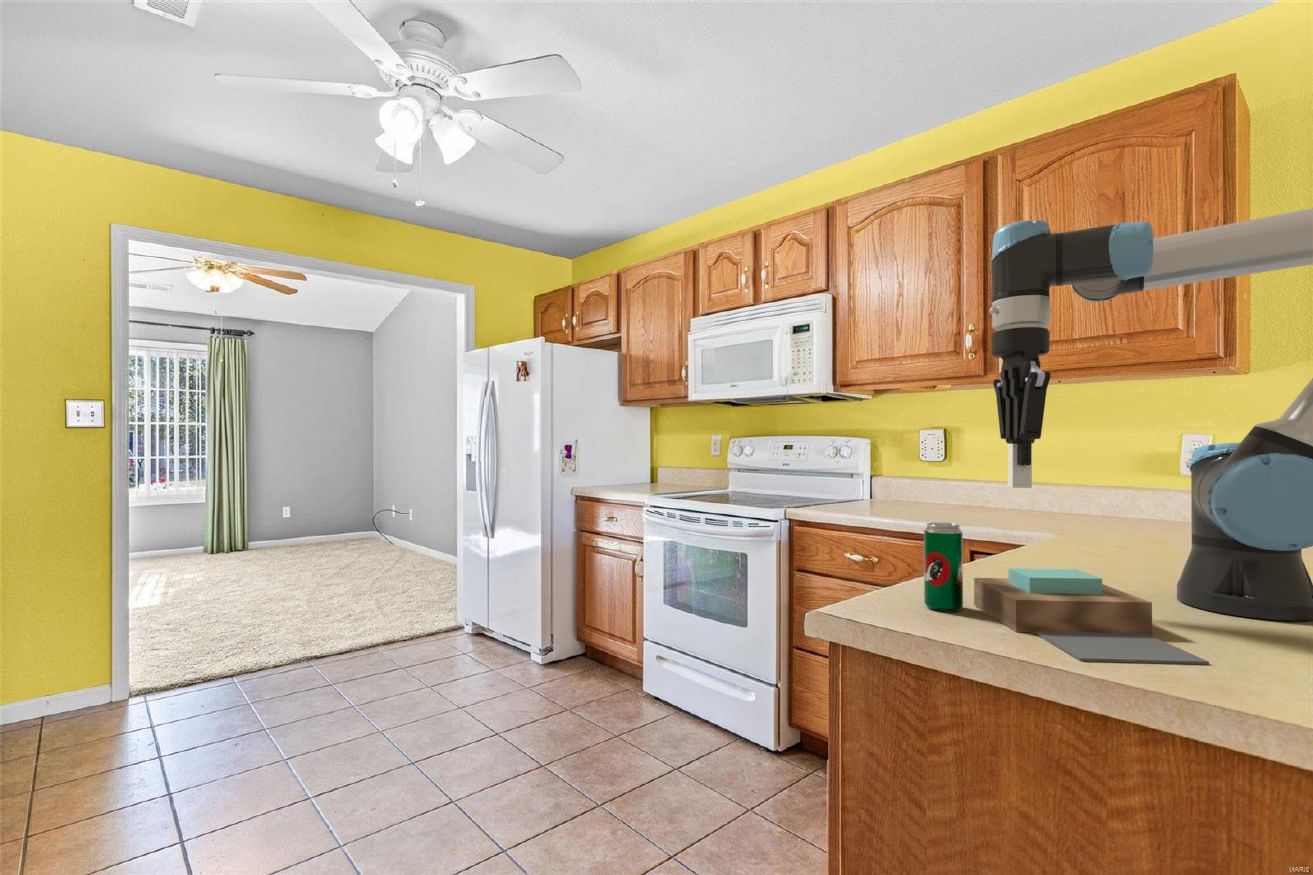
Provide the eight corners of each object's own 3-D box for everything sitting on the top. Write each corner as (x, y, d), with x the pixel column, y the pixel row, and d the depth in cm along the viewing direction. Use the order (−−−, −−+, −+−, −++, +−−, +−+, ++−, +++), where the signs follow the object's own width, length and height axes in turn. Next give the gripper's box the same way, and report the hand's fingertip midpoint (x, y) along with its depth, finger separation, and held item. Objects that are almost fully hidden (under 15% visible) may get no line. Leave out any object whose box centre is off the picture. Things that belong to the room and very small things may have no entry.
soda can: (967, 613, 89) (967, 527, 89) (928, 612, 90) (928, 526, 90) (957, 604, 94) (957, 522, 94) (921, 603, 95) (920, 521, 95)
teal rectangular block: (1076, 583, 89) (1076, 569, 89) (1102, 594, 83) (1102, 578, 83) (1008, 582, 90) (1008, 568, 90) (1029, 592, 84) (1029, 577, 84)
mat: (1146, 636, 79) (1146, 633, 79) (1208, 664, 69) (1208, 661, 69) (1034, 633, 80) (1034, 631, 80) (1080, 661, 70) (1080, 658, 70)
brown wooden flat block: (1090, 607, 92) (1090, 579, 92) (1152, 635, 79) (1152, 602, 79) (974, 605, 93) (974, 577, 93) (1016, 631, 80) (1015, 599, 80)
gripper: (976, 336, 103) (975, 484, 103) (1014, 321, 90) (1013, 490, 90) (1025, 336, 102) (1025, 484, 102) (1070, 321, 89) (1070, 491, 89)
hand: (1019, 487), depth 96 cm, fingers closed
